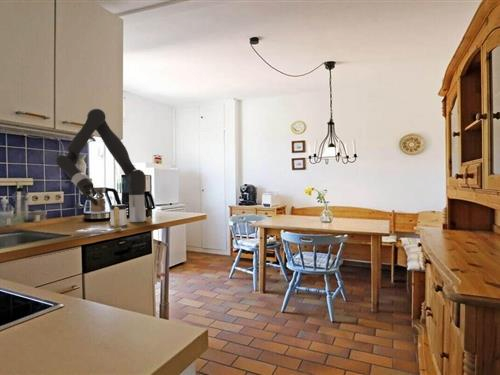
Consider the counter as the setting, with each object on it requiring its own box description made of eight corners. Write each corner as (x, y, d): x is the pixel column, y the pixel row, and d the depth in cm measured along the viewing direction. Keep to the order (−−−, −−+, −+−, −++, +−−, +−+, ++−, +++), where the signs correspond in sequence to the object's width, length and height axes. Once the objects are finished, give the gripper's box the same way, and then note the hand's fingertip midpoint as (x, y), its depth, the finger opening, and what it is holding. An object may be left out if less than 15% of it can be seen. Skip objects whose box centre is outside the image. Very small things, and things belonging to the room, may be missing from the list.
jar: (112, 226, 184) (111, 205, 183) (109, 224, 191) (108, 204, 190) (128, 225, 189) (127, 204, 188) (125, 223, 196) (124, 204, 195)
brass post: (116, 228, 175) (115, 206, 175) (123, 228, 174) (122, 206, 173) (110, 230, 171) (110, 207, 170) (117, 230, 169) (116, 207, 169)
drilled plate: (88, 230, 172) (88, 228, 172) (114, 231, 167) (114, 229, 167) (76, 232, 164) (76, 230, 164) (103, 233, 159) (103, 231, 159)
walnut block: (97, 211, 178) (97, 198, 178) (104, 211, 177) (104, 198, 177) (90, 211, 174) (90, 199, 173) (98, 212, 172) (97, 199, 172)
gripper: (75, 177, 170) (94, 200, 167) (95, 177, 184) (113, 198, 181) (68, 187, 172) (86, 210, 169) (88, 186, 185) (106, 207, 182)
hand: (100, 203), depth 175 cm, fingers closed on walnut block, 5 cm apart
